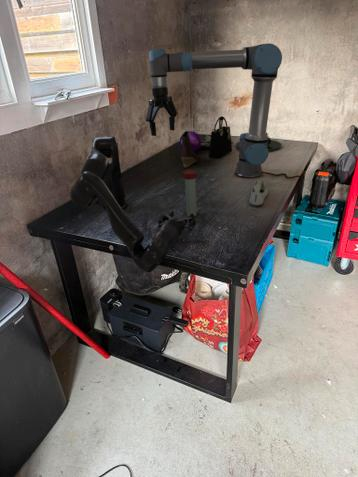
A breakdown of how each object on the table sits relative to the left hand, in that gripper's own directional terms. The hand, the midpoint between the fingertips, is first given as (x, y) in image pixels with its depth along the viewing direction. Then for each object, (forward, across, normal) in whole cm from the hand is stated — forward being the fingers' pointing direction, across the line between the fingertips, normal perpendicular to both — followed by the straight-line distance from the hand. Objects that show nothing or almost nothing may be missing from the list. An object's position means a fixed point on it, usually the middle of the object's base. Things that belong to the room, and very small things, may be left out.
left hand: (182, 214), depth 135 cm
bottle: (+12, 0, -6) cm, 14 cm away
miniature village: (+131, +12, -7) cm, 132 cm away
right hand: (+44, -24, +22) cm, 54 cm away
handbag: (+106, -9, -7) cm, 107 cm away
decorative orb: (+107, -31, -7) cm, 112 cm away
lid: (+12, 0, +13) cm, 18 cm away
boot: (+85, -24, -7) cm, 89 cm away
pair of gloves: (+131, -23, -7) cm, 134 cm away
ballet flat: (+38, +26, -6) cm, 46 cm away
